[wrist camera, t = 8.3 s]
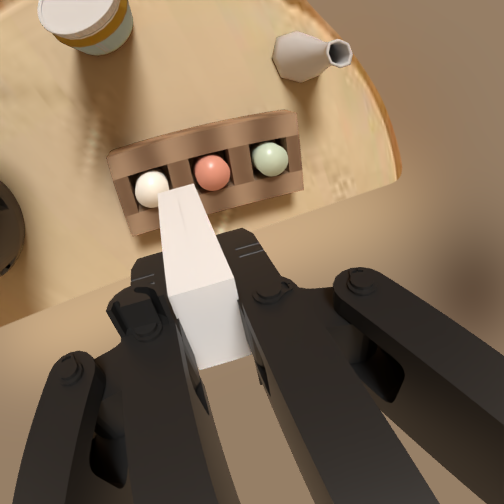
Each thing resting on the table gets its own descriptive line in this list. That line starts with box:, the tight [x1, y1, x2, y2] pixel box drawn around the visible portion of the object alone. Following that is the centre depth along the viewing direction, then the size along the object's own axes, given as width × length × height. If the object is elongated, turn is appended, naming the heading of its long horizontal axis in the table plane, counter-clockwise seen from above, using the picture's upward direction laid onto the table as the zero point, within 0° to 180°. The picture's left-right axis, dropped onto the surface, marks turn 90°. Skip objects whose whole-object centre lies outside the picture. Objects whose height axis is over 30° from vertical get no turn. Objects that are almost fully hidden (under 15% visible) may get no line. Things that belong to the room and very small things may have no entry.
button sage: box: [249, 140, 288, 176], centre depth 37 cm, size 4×4×4 cm
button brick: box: [193, 152, 230, 191], centre depth 36 cm, size 4×4×4 cm
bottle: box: [38, 0, 133, 56], centre depth 19 cm, size 7×7×15 cm
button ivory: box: [135, 167, 169, 208], centre depth 34 cm, size 4×4×4 cm
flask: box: [272, 31, 353, 83], centre depth 30 cm, size 7×7×10 cm
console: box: [106, 110, 304, 237], centre depth 37 cm, size 22×10×4 cm, turn 99°
